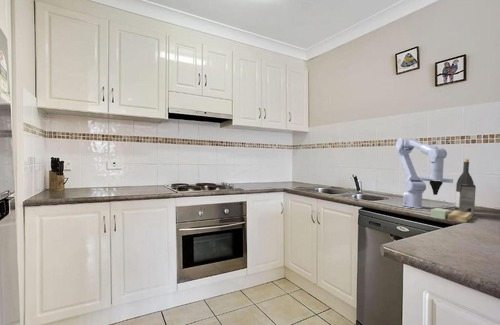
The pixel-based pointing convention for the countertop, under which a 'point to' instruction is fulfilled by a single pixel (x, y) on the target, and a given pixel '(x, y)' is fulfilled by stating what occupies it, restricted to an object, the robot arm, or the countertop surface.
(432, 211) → the sage block
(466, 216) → the bamboo board
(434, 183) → the robot arm
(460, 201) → the coffee box
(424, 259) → the countertop surface
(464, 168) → the wine bottle
